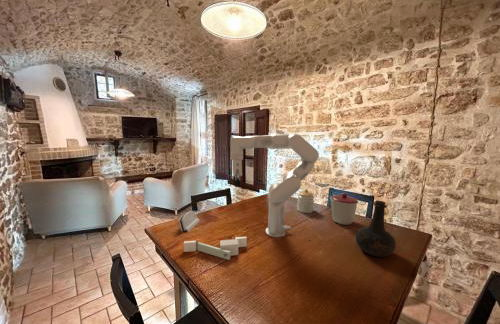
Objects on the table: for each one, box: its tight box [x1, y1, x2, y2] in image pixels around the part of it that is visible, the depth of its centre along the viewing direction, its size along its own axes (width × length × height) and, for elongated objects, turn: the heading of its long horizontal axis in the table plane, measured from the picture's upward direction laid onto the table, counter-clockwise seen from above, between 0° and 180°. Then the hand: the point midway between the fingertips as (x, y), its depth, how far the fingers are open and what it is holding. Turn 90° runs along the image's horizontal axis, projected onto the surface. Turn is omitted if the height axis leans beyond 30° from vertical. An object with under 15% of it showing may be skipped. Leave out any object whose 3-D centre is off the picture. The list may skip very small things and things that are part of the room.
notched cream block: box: [183, 236, 248, 253], centre depth 109 cm, size 33×2×5 cm, turn 100°
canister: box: [330, 192, 360, 226], centre depth 142 cm, size 18×18×21 cm
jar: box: [296, 188, 315, 214], centre depth 163 cm, size 13×13×18 cm
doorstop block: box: [219, 238, 239, 257], centre depth 105 cm, size 9×5×6 cm, turn 101°
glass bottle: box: [355, 200, 397, 258], centre depth 106 cm, size 18×18×28 cm
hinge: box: [178, 210, 200, 232], centre depth 135 cm, size 17×5×10 cm, turn 168°
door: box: [196, 240, 231, 261], centre depth 103 cm, size 20×2×5 cm, turn 65°
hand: (236, 184), depth 124 cm, fingers open, 9 cm apart
